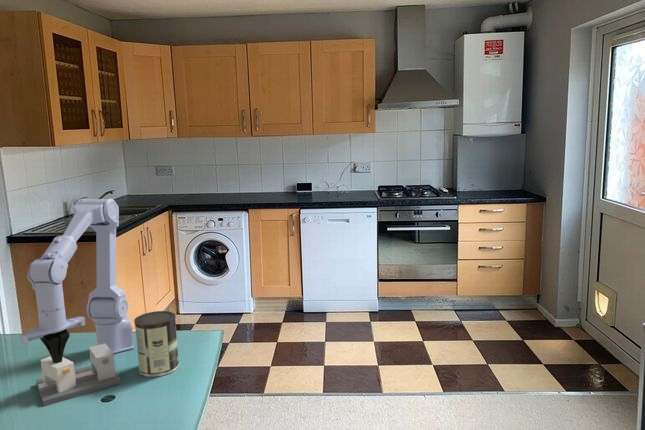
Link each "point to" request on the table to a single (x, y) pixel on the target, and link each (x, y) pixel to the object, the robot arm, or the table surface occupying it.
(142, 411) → the table surface
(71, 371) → the block
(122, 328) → the robot arm
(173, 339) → the coffee can
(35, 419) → the table surface
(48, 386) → the rail board
